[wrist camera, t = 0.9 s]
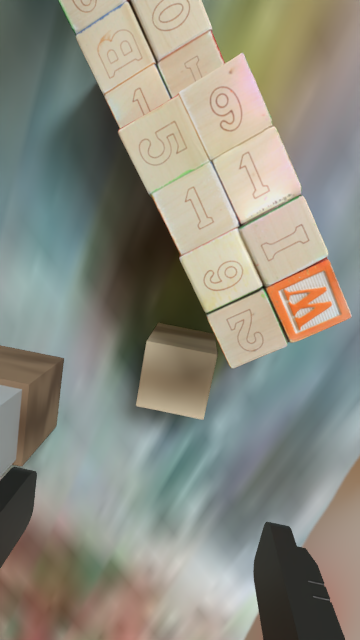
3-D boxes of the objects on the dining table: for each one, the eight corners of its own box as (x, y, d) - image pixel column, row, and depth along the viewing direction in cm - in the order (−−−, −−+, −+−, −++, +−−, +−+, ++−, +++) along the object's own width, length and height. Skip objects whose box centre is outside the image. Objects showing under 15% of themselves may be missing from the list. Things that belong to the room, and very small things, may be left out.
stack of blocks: (101, 74, 24) (2, -104, 12) (174, 29, 23) (145, -213, 11) (218, 321, 27) (231, 373, 15) (286, 290, 27) (356, 320, 14)
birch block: (158, 322, 28) (146, 340, 22) (214, 333, 28) (217, 354, 22) (149, 375, 29) (135, 405, 23) (203, 386, 29) (203, 419, 23)
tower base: (-10, 343, 29) (-63, 365, 23) (64, 358, 29) (29, 384, 23) (-14, 411, 31) (-65, 448, 25) (56, 425, 31) (21, 466, 25)
